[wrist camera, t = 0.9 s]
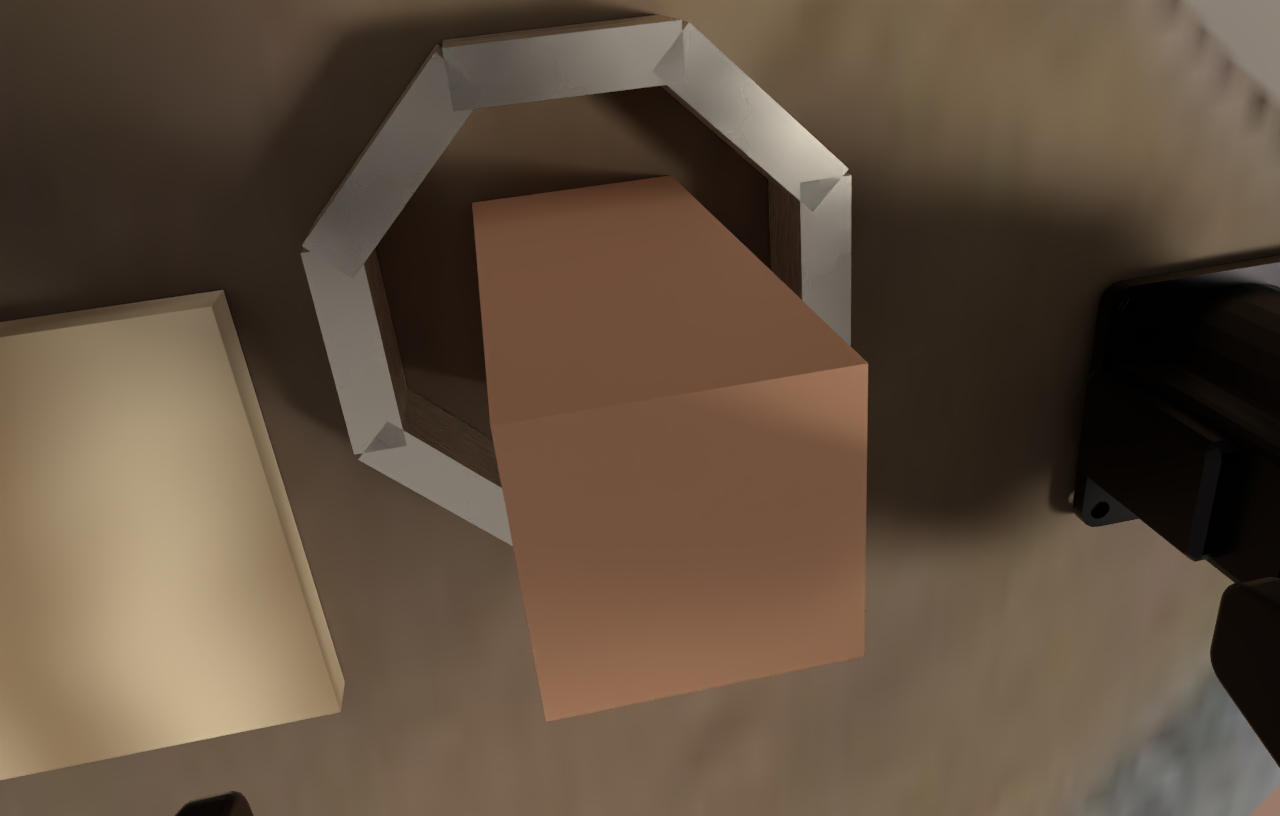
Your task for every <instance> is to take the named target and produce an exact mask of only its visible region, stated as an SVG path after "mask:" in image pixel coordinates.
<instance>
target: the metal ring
mask: <svg viewBox="0 0 1280 816" xmlns="http://www.w3.org/2000/svg"><path fill="white" fill-rule="evenodd" d="M653 86H661V87H662V88H663V89H664V90H665V91H667V92H668V93H669V94H670V95H671V96H672V97H673V98H675V99H676V100H677V101H678V102H679V103H680V104H682V105H683V106H684V107H685V108H686V109H687V110H688V111H690V112H691V113H692V114H693V115H694V116H695V117H697V118H698V119H699V120H700V121H701V122H702V123H703V124H705V125H706V126H707V127H708V128H709V129H710V130H712V131H713V132H714V133H715V134H716V135H717V136H718V137H720V138H721V139H722V140H723V141H724V142H725V143H727V144H728V145H729V146H730V147H731V148H732V149H733V150H735V151H736V152H737V153H738V154H739V155H740V156H742V157H743V158H744V159H745V160H746V161H747V162H748V163H750V164H751V165H752V166H753V167H754V168H755V169H757V170H758V171H759V172H760V173H761V174H762V175H763V176H765V177H766V178H767V179H768V199H769V227H770V255H771V271H772V272H773V273H774V274H775V275H776V276H777V277H778V278H779V279H780V280H781V281H782V282H783V283H785V284H786V285H787V286H788V287H789V288H790V289H791V290H792V291H793V292H794V293H795V294H796V295H797V296H798V297H799V298H800V299H801V300H802V301H803V302H804V303H806V304H807V305H808V306H809V307H810V308H811V309H812V310H813V311H814V312H815V313H816V314H817V315H818V316H819V317H820V318H821V319H822V320H823V321H824V322H825V323H827V324H828V325H829V326H830V327H831V328H832V329H833V330H834V331H835V332H836V333H837V334H838V335H839V336H840V337H841V338H842V339H843V340H844V341H845V342H846V343H848V344H849V345H850V346H851V175H850V174H848V173H846V172H847V171H848V170H849V169H848V168H847V167H846V166H845V165H844V164H843V163H842V162H841V161H840V160H839V159H837V158H836V157H835V156H834V155H833V154H832V153H831V152H830V151H829V150H828V149H827V148H825V147H824V146H823V145H822V144H821V143H820V142H819V141H818V140H817V139H816V138H815V137H813V136H812V135H811V134H810V133H809V132H808V131H807V130H806V129H805V128H804V127H803V126H801V125H800V124H799V123H798V122H797V121H796V120H795V119H794V118H793V117H792V116H791V115H789V114H788V113H787V112H786V111H785V110H784V109H783V108H782V107H781V106H780V105H779V104H778V103H776V102H775V101H774V100H773V99H772V98H771V97H770V96H769V95H768V94H767V93H766V92H764V91H763V90H762V89H761V88H760V87H759V86H758V85H757V84H756V83H755V82H754V81H752V80H751V79H750V78H749V77H748V76H747V75H746V74H745V73H744V72H743V71H742V70H740V69H739V68H738V67H737V66H736V65H735V64H734V63H733V62H732V61H731V60H730V59H728V58H727V57H726V56H725V55H724V54H723V53H722V52H721V51H720V50H719V49H718V48H716V47H715V46H714V45H713V44H712V43H711V42H710V41H709V40H708V39H707V38H706V37H704V36H703V35H702V34H701V33H700V32H699V31H698V30H697V29H696V28H695V27H694V26H693V25H691V24H690V23H689V22H686V21H682V20H680V19H676V18H671V17H667V16H662V15H650V16H642V17H633V18H624V19H616V20H607V21H599V22H590V23H582V24H573V25H565V26H556V27H547V28H539V29H530V30H522V31H513V32H505V33H496V34H487V35H479V36H470V37H462V38H453V39H445V40H443V44H442V47H441V46H439V45H438V44H436V45H435V47H434V48H433V50H432V51H431V53H430V54H429V56H428V57H427V58H426V60H425V61H424V63H423V64H422V66H421V67H420V69H419V70H418V72H417V73H416V74H415V76H414V77H413V79H412V80H411V82H410V83H409V85H408V86H407V88H406V89H405V90H404V92H403V93H402V95H401V96H400V98H399V99H398V101H397V102H396V104H395V105H394V106H393V108H392V109H391V111H390V112H389V114H388V115H387V117H386V118H385V120H384V121H383V122H382V124H381V125H380V127H379V128H378V130H377V131H376V133H375V134H374V136H373V137H372V139H371V140H370V141H369V143H368V144H367V146H366V147H365V149H364V150H363V152H362V153H361V155H360V156H359V157H358V159H357V160H356V162H355V163H354V165H353V166H352V168H351V169H350V171H349V172H348V173H347V175H346V176H345V178H344V179H343V181H342V182H341V184H340V185H339V187H338V188H337V189H336V191H335V192H334V194H333V195H332V197H331V198H330V200H329V201H328V203H327V204H326V205H325V207H324V208H323V210H322V211H321V213H320V214H319V216H318V217H317V219H316V220H315V222H314V224H313V226H312V228H311V230H310V232H309V233H308V235H307V237H306V239H305V241H304V243H303V244H302V247H304V248H303V249H302V251H301V257H302V261H303V265H304V268H305V272H306V276H307V280H308V283H309V287H310V291H311V295H312V298H313V302H314V306H315V310H316V313H317V317H318V321H319V325H320V328H321V332H322V336H323V340H324V343H325V347H326V351H327V355H328V359H329V362H330V366H331V370H332V374H333V377H334V381H335V385H336V389H337V392H338V396H339V400H340V404H341V407H342V411H343V415H344V419H345V422H346V426H347V430H348V434H349V437H350V441H351V445H352V449H353V452H354V455H355V454H359V458H358V460H360V461H361V462H363V463H365V464H367V465H369V466H370V467H372V468H374V469H376V470H377V471H379V472H381V473H383V474H385V475H386V476H388V477H390V478H392V479H394V480H395V481H397V482H399V483H401V484H402V485H404V486H406V487H408V488H410V489H411V490H413V491H415V492H417V493H419V494H420V495H422V496H424V497H426V498H427V499H429V500H431V501H433V502H435V503H436V504H438V505H440V506H442V507H444V508H445V509H447V510H449V511H451V512H453V513H454V514H456V515H458V516H460V517H461V518H463V519H465V520H467V521H469V522H470V523H472V524H474V525H476V526H478V527H479V528H481V529H483V530H485V531H486V532H488V533H490V534H492V535H494V536H495V537H497V538H499V539H501V540H503V541H504V542H506V543H508V544H510V545H511V546H513V543H512V538H511V533H510V528H509V522H508V517H507V512H506V506H505V501H504V496H503V491H502V485H501V480H500V475H499V469H498V464H497V459H496V454H495V448H494V443H493V440H492V439H490V438H488V437H487V436H485V435H484V434H482V433H480V432H479V431H477V430H475V429H474V428H472V427H470V426H469V425H467V424H465V423H464V422H462V421H461V420H459V419H457V418H456V417H454V416H452V415H451V414H449V413H447V412H446V411H444V410H442V409H441V408H439V407H438V406H436V405H434V404H433V403H431V402H429V401H428V400H426V399H424V398H423V397H421V396H419V395H418V394H416V393H415V392H413V391H411V390H410V389H408V388H407V384H406V379H405V375H404V371H403V366H402V362H401V358H400V353H399V349H398V344H397V340H396V336H395V331H394V327H393V323H392V318H391V314H390V310H389V305H388V301H387V296H386V292H385V288H384V283H383V279H382V275H381V270H380V266H379V261H378V257H377V253H376V248H375V247H376V246H377V244H378V243H379V242H380V240H381V239H382V237H383V236H384V235H385V233H386V232H387V230H388V229H389V228H390V226H391V225H392V223H393V222H394V221H395V219H396V218H397V216H398V215H399V214H400V212H401V211H402V209H403V208H404V206H405V205H406V204H407V202H408V201H409V199H410V198H411V197H412V195H413V194H414V192H415V191H416V190H417V188H418V187H419V185H420V184H421V183H422V181H423V180H424V178H425V177H426V176H427V174H428V173H429V171H430V170H431V169H432V167H433V166H434V164H435V163H436V162H437V160H438V159H439V157H440V156H441V154H442V153H443V152H444V150H445V149H446V147H447V146H448V145H449V143H450V142H451V140H452V139H453V138H454V136H455V135H456V133H457V132H458V131H459V129H460V128H461V126H462V125H463V124H464V122H465V121H466V119H467V118H468V117H469V115H470V114H471V112H472V111H473V110H474V109H479V108H487V107H495V106H502V105H510V104H518V103H526V102H534V101H542V100H550V99H558V98H566V97H574V96H582V95H590V94H598V93H605V92H613V91H621V90H629V89H637V88H645V87H653Z"/></svg>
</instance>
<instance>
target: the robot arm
mask: <svg viewBox="0 0 1280 816" xmlns="http://www.w3.org/2000/svg"><path fill="white" fill-rule="evenodd" d="M1126 298H1129V300H1128V303H1127V305H1126V306H1125V307H1124V308H1123V309H1122V310H1120V311H1119V308H1120V305H1121V303H1122V302H1123V301H1124V300H1125V299H1126ZM1077 468H1078V469H1077V477H1076V485H1075V493H1074V500H1073V512H1074V513H1075V515H1076V516H1077V517H1078V518H1079V519H1080V520H1082V521H1083V522H1084V523H1085V524H1086V525H1089V526H1091V527H1098V526H1104V525H1109V524H1114V523H1119V522H1124V521H1129V520H1134V519H1140V520H1142V521H1143V522H1144V523H1145V524H1147V525H1148V526H1149V527H1150V528H1152V529H1153V530H1154V531H1155V532H1157V533H1158V534H1159V535H1160V536H1162V537H1163V538H1164V539H1165V540H1167V541H1168V542H1169V543H1170V544H1172V545H1173V546H1174V547H1175V548H1177V549H1178V550H1179V551H1180V552H1182V553H1183V554H1184V555H1185V556H1187V557H1188V558H1189V559H1191V560H1193V561H1200V560H1207V561H1208V562H1209V563H1210V564H1212V565H1213V566H1214V567H1215V568H1217V569H1218V570H1219V571H1221V572H1222V573H1223V574H1224V575H1226V576H1227V577H1228V578H1229V579H1231V580H1232V581H1233V582H1235V583H1234V584H1232V585H1230V586H1228V588H1227V589H1226V590H1225V591H1224V593H1223V595H1222V597H1221V602H1220V606H1219V611H1218V616H1217V620H1216V625H1215V630H1214V634H1213V639H1212V644H1211V649H1210V657H1211V663H1212V666H1213V669H1214V671H1215V674H1216V676H1217V678H1218V679H1219V681H1220V682H1221V684H1222V685H1223V687H1224V688H1225V690H1226V691H1227V693H1228V694H1229V695H1230V697H1231V698H1232V700H1233V701H1234V703H1235V704H1236V706H1237V707H1238V708H1239V710H1240V711H1241V713H1242V714H1243V716H1244V717H1245V718H1246V720H1247V721H1248V723H1249V724H1250V726H1251V727H1252V729H1253V730H1254V731H1255V733H1256V734H1257V736H1258V737H1259V739H1260V740H1261V742H1262V743H1263V744H1264V746H1265V747H1266V749H1267V750H1268V752H1269V753H1270V754H1271V756H1272V757H1273V759H1274V760H1275V762H1276V763H1277V765H1278V766H1279V767H1280V255H1278V256H1272V257H1266V258H1259V259H1253V260H1247V261H1241V262H1235V263H1228V264H1222V265H1216V266H1210V267H1204V268H1197V269H1191V270H1185V271H1179V272H1173V273H1167V274H1160V275H1154V276H1148V277H1142V278H1136V279H1129V280H1123V281H1119V282H1117V283H1114V284H1112V285H1111V286H1110V287H1108V288H1107V289H1106V290H1105V292H1104V293H1103V295H1102V296H1101V299H1100V302H1099V306H1098V314H1097V321H1096V329H1095V337H1094V345H1093V353H1092V360H1091V368H1090V376H1089V380H1088V382H1087V389H1086V397H1085V405H1084V413H1083V421H1082V428H1081V436H1080V444H1079V452H1078V460H1077ZM1097 503H1099V504H1098V505H1097V506H1096V507H1095V508H1094V509H1092V508H1093V507H1094V506H1095V505H1096V504H1097ZM175 816H253V813H252V811H251V808H250V806H249V803H248V801H247V800H246V798H245V797H244V796H243V795H242V794H241V793H240V792H236V791H229V792H224V793H220V794H215V795H210V796H205V797H200V798H196V799H193V800H191V801H189V802H188V803H186V804H185V805H184V806H183V807H182V808H181V809H180V810H179V811H178V812H177V813H176V814H175Z"/></svg>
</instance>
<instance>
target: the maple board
mask: <svg viewBox="0 0 1280 816" xmlns="http://www.w3.org/2000/svg"><path fill="white" fill-rule="evenodd" d="M344 685H345V681H344V678H343V675H342V672H341V668H340V665H339V662H338V659H337V656H336V652H335V649H334V646H333V643H332V639H331V636H330V633H329V630H328V626H327V623H326V620H325V617H324V614H323V610H322V607H321V604H320V601H319V597H318V594H317V591H316V588H315V584H314V581H313V578H312V575H311V572H310V568H309V565H308V562H307V559H306V555H305V552H304V549H303V546H302V542H301V539H300V536H299V533H298V530H297V526H296V523H295V520H294V517H293V513H292V510H291V507H290V504H289V500H288V497H287V494H286V491H285V488H284V484H283V481H282V478H281V475H280V471H279V468H278V465H277V462H276V458H275V455H274V452H273V449H272V446H271V442H270V439H269V436H268V433H267V429H266V426H265V423H264V420H263V416H262V413H261V410H260V407H259V404H258V400H257V397H256V394H255V391H254V387H253V384H252V381H251V378H250V374H249V371H248V368H247V365H246V362H245V358H244V355H243V352H242V349H241V345H240V342H239V339H238V336H237V332H236V329H235V326H234V323H233V320H232V316H231V313H230V310H229V307H228V303H227V300H226V297H225V294H224V290H219V291H212V292H205V293H198V294H191V295H184V296H177V297H170V298H163V299H156V300H149V301H143V302H136V303H129V304H122V305H115V306H108V307H101V308H94V309H87V310H80V311H73V312H67V313H60V314H53V315H46V316H39V317H32V318H25V319H18V320H11V321H4V322H0V780H3V779H8V778H13V777H18V776H23V775H28V774H33V773H38V772H43V771H48V770H53V769H58V768H63V767H68V766H73V765H78V764H83V763H88V762H93V761H98V760H103V759H108V758H113V757H118V756H123V755H128V754H133V753H138V752H143V751H148V750H153V749H158V748H163V747H168V746H173V745H178V744H183V743H188V742H193V741H198V740H203V739H208V738H213V737H218V736H223V735H228V734H233V733H238V732H243V731H248V730H253V729H258V728H263V727H268V726H273V725H278V724H283V723H288V722H293V721H298V720H303V719H308V718H313V717H318V716H323V715H328V714H333V713H338V712H341V705H342V698H343V692H344Z"/></svg>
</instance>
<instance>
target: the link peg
mask: <svg viewBox="0 0 1280 816" xmlns="http://www.w3.org/2000/svg"><path fill="white" fill-rule="evenodd" d="M472 209H473V221H474V233H475V245H476V257H477V270H478V282H479V294H480V306H481V318H482V331H483V343H484V355H485V367H486V379H487V392H488V404H489V416H490V427H491V432H492V438H493V443H494V448H495V454H496V459H497V464H498V469H499V475H500V480H501V485H502V491H503V496H504V501H505V506H506V512H507V517H508V522H509V528H510V533H511V538H512V543H513V549H514V554H515V559H516V565H517V570H518V575H519V581H520V586H521V591H522V596H523V602H524V607H525V612H526V618H527V623H528V628H529V633H530V639H531V644H532V649H533V655H534V660H535V665H536V670H537V676H538V681H539V686H540V692H541V697H542V702H543V707H544V713H545V718H546V722H549V721H554V720H559V719H564V718H569V717H574V716H578V715H583V714H588V713H593V712H598V711H603V710H607V709H612V708H617V707H622V706H627V705H632V704H637V703H641V702H646V701H651V700H656V699H661V698H666V697H670V696H675V695H680V694H685V693H690V692H695V691H699V690H704V689H709V688H714V687H719V686H724V685H729V684H733V683H738V682H743V681H748V680H753V679H758V678H762V677H767V676H772V675H777V674H782V673H787V672H792V671H796V670H801V669H806V668H811V667H816V666H821V665H825V664H830V663H835V662H840V661H845V660H850V659H854V658H859V657H864V650H865V575H866V499H867V423H868V363H867V362H866V361H865V360H864V359H863V358H862V357H861V356H860V355H859V354H858V353H857V352H856V351H855V350H854V349H853V348H852V347H851V346H850V345H849V344H848V343H846V342H845V341H844V340H843V339H842V338H841V337H840V336H839V335H838V334H837V333H836V332H835V331H834V330H833V329H832V328H831V327H830V326H829V325H828V324H827V323H825V322H824V321H823V320H822V319H821V318H820V317H819V316H818V315H817V314H816V313H815V312H814V311H813V310H812V309H811V308H810V307H809V306H808V305H807V304H806V303H804V302H803V301H802V300H801V299H800V298H799V297H798V296H797V295H796V294H795V293H794V292H793V291H792V290H791V289H790V288H789V287H788V286H787V285H786V284H785V283H783V282H782V281H781V280H780V279H779V278H778V277H777V276H776V275H775V274H774V273H773V272H772V271H771V270H770V269H769V268H768V267H767V266H766V265H765V264H764V263H762V262H761V261H760V260H759V259H758V258H757V257H756V256H755V255H754V254H753V253H752V252H751V251H750V250H749V249H748V248H747V247H746V246H745V245H744V244H743V243H741V242H740V241H739V240H738V239H737V238H736V237H735V236H734V235H733V234H732V233H731V232H730V231H729V230H728V229H727V228H726V227H725V226H724V225H723V224H722V223H721V222H719V221H718V220H717V219H716V218H715V217H714V216H713V215H712V214H711V213H710V212H709V211H708V210H707V209H706V208H705V207H704V206H703V205H702V204H701V203H700V202H698V201H697V200H696V199H695V198H694V197H693V196H692V195H691V194H690V193H689V192H688V191H687V190H686V189H685V188H684V187H683V186H682V185H681V184H680V183H679V182H677V181H676V180H675V179H674V178H673V177H672V176H671V175H670V176H663V177H655V178H648V179H641V180H634V181H626V182H619V183H612V184H605V185H597V186H590V187H583V188H576V189H569V190H561V191H554V192H547V193H540V194H532V195H525V196H518V197H511V198H503V199H496V200H489V201H482V202H474V203H472Z"/></svg>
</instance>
